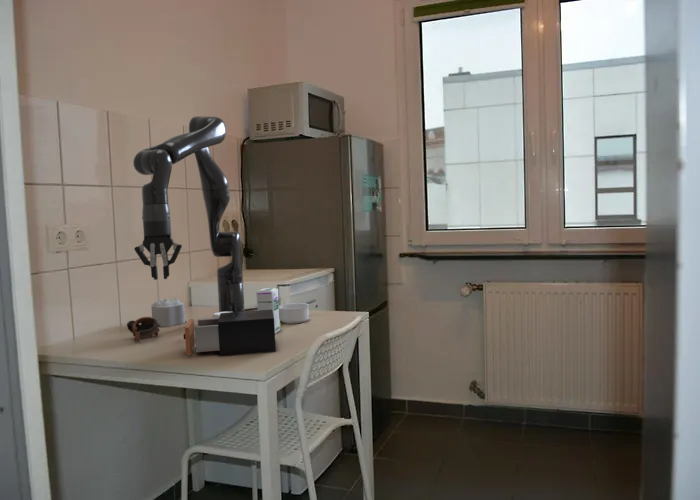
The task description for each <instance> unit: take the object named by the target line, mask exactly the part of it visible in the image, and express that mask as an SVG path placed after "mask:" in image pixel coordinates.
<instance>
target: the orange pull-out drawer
mask: <svg viewBox="0 0 700 500" xmlns="http://www.w3.org/2000/svg"><path fill="white" fill-rule="evenodd" d="M218 320H219V318H213V317H212V318H202V319H197V326H195V320H194V318H189V319H188V321H187V323H186V324H185V327H184V333H183V336H182V337H183V340H184V341H185V353H186V354H185V355H186V356H191V355H192V353H193V350H194V347H195V352H196V353H203V352H216V351H217V352H218V351H220V350H219V333H218Z"/></svg>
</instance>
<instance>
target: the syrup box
mask: <svg viewBox="0 0 700 500" xmlns="http://www.w3.org/2000/svg"><path fill="white" fill-rule="evenodd" d="M255 293H256V294H255V295H256V305H257V311H258V310H272V311H273V316H274V327H275V335H276V333H278V332H279V331H281V329H282V327H281V321H280V312H279V306H280V300H279V288H278V287H266V288H261V289H259V290H257V291H256V292H255Z"/></svg>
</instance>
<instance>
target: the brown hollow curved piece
mask: <svg viewBox="0 0 700 500" xmlns="http://www.w3.org/2000/svg"><path fill="white" fill-rule="evenodd" d="M126 327H127V329H128V330H129V332H131V334H132V335H133V337H134V341H135V342H136V343H140V341H141V340H144V339H148V338H150V337H153V336H156V337H158V336H159V332H161V330H160V328H159V327H160V325H159V324H158V323H157V320H155V319H154V318H152V316H142V317H139V318H137V319H136V320H128V322H127V323H126Z"/></svg>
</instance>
